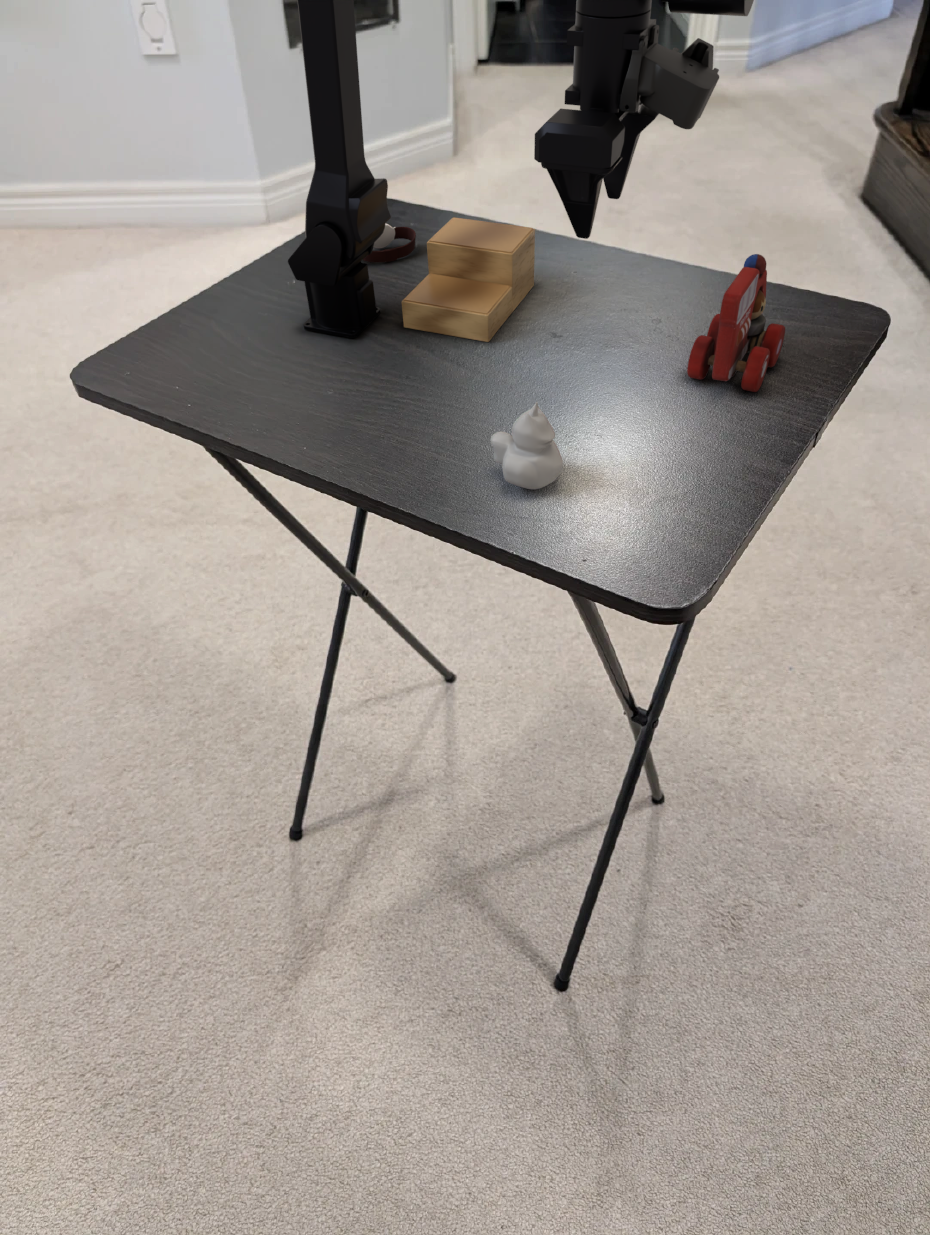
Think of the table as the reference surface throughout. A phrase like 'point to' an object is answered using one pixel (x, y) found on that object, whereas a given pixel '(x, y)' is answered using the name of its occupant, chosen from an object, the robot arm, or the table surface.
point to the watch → (387, 238)
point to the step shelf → (472, 279)
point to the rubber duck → (528, 451)
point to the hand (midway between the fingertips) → (599, 217)
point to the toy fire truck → (740, 332)
